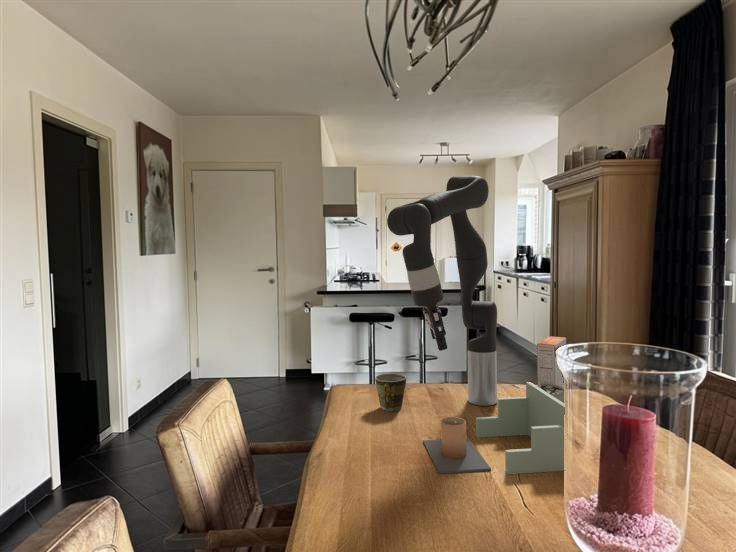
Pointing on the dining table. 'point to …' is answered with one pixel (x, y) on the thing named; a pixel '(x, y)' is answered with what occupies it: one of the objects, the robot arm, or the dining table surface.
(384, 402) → the ceramic cup
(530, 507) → the dining table surface
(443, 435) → the pink and brown cylinder
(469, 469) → the charcoal mat
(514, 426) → the stepped shelf frame
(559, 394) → the food container
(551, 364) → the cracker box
